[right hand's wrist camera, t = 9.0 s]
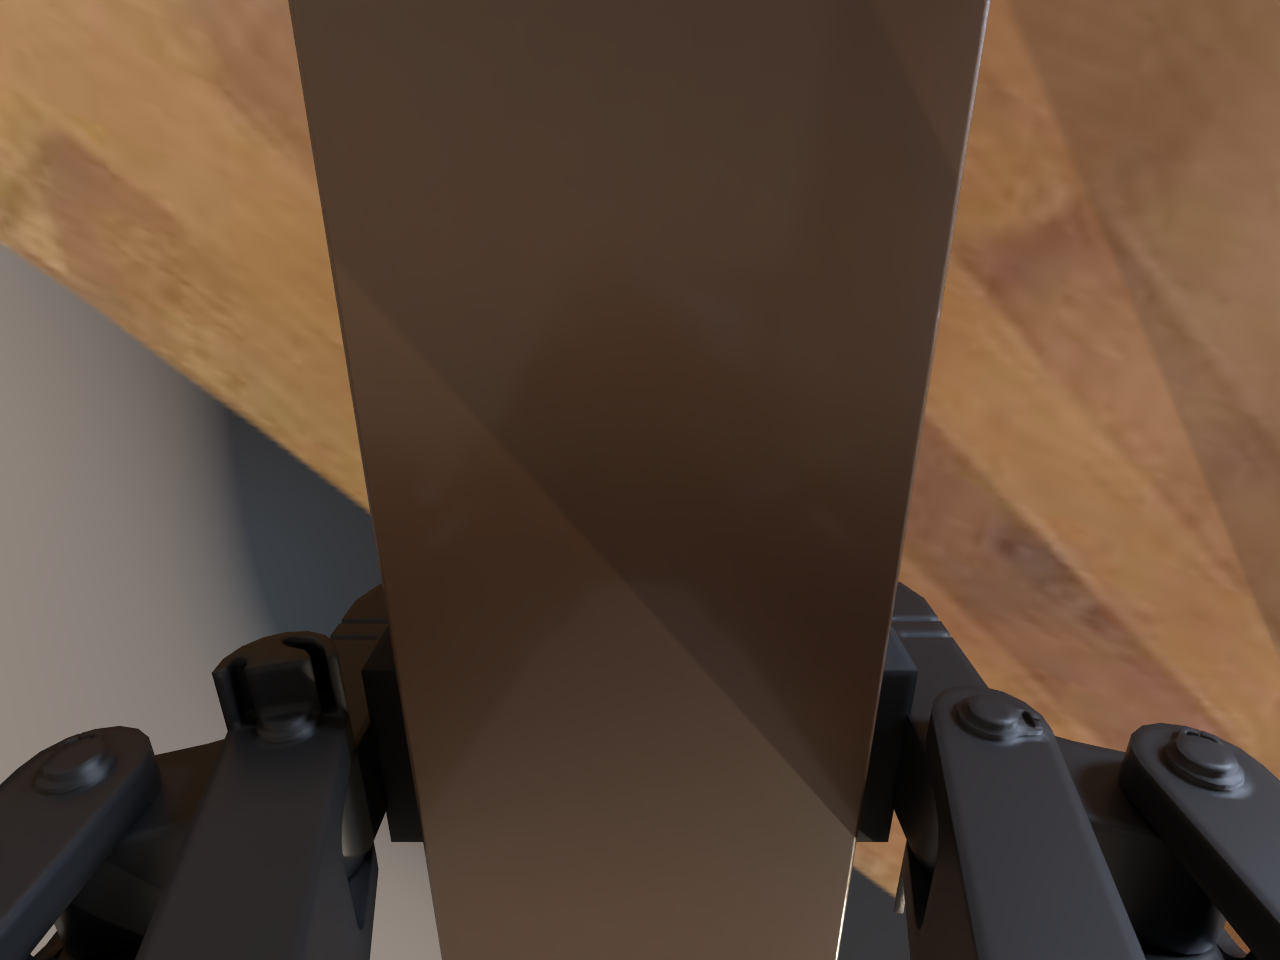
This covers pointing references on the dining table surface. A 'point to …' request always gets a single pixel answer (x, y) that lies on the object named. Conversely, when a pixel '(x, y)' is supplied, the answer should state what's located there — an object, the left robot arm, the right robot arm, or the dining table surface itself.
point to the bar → (639, 435)
